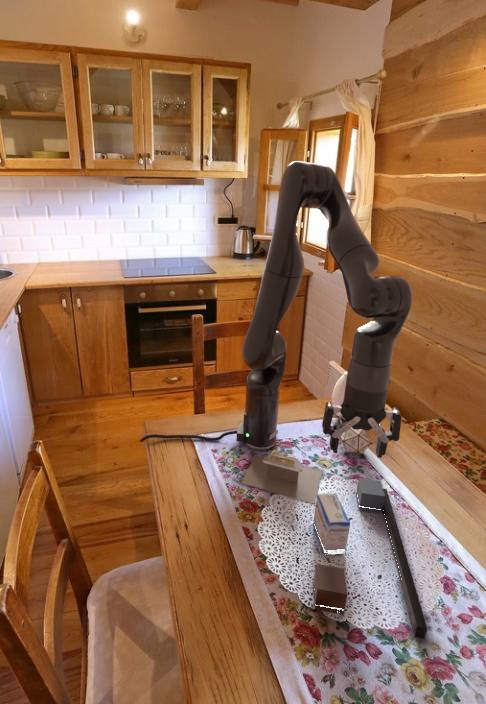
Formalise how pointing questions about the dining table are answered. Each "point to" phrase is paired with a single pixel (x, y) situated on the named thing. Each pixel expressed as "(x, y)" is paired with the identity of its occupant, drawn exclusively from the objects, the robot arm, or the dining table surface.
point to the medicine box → (331, 522)
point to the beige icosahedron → (355, 441)
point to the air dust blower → (339, 392)
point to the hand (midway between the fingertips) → (356, 452)
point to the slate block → (370, 495)
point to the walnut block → (329, 588)
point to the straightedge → (404, 571)
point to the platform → (283, 477)
